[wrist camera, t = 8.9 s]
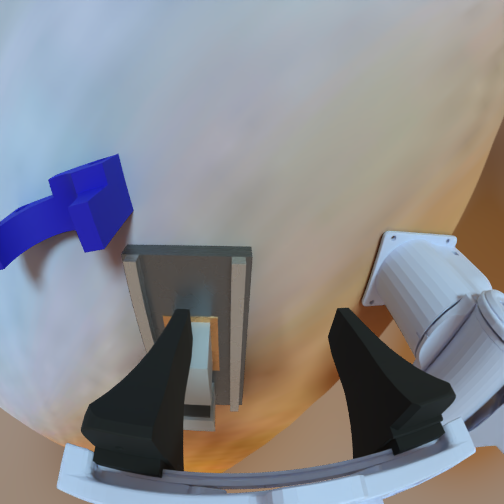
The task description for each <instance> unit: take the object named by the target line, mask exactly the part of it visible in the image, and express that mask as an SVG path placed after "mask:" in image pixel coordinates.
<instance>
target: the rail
mask: <svg viewBox="0 0 504 504" xmlns="http://www.w3.org/2000/svg"><path fill="white" fill-rule="evenodd" d="M121 256H122V261H123V266H124V270H125V275H126V279H127V284H128V288H129V292H130V296H131V300H132V304H133V308H134V312H135V315H136V319H137V323H138V326H139V329H140V333H141V336H142V340H143V343H144V346H145V349H146V352H147V353H148V352H149V350H150V349H151V348H152V346H153V345H154V344H155V342H156V341H157V339H158V338H159V336H160V335H161V333H162V332H163V330H164V329H165V327H166V325H167V324H168V322H169V320H170V319H171V317H172V315H173V313H174V311H175V310H176V309H190V317H191V322H205V323H210V330H211V347H212V362H213V367H212V383H214V384H215V405H230V411H238V407H239V405H242V397H243V383H244V369H245V355H246V341H247V327H248V312H249V298H250V284H251V270H252V250H251V247H233V246H179V245H127V246H126V247H125V249H124V251H123V252H122V254H121Z"/></svg>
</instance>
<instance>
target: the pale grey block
mask: <svg viewBox="0 0 504 504" xmlns="http://www.w3.org/2000/svg"><path fill="white" fill-rule="evenodd" d="M191 326H192V334H193V346H192V358H191V364H190V370H189V376H188V381H187V387H186V393H185V401H184V404H190V405H211V399H212V367H213V362H212V347H211V330H210V323H205V322H191Z"/></svg>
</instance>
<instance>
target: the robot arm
mask: <svg viewBox="0 0 504 504" xmlns="http://www.w3.org/2000/svg"><path fill="white" fill-rule="evenodd" d="M392 236H394V238H392ZM391 238H392V239H391ZM446 240H447V241H446ZM456 242H457V238H456V237H455V236H451V235H439V234H426V233H413V232H398V231H386V232H385V233H384V234H383V236H382V240H381V243H380V247H379V250H378V254H377V257H376V260H375V263H374V266H373V270H372V273H371V276H370V279H369V282H368V285H367V287H366V290H365V293H364V296H363V299H362V304H363V305H364V306H376V305H386V307H387V309H388V310H389V312H390V314H391V315H392V317H393V319H394V320H395V322H396V324H397V325H398V327H399V329H400V331H401V332H402V334H403V336H404V337H405V339H406V341H407V343H408V345H409V347H410V349H411V350H412V352H413V354H414V356H415V358H416V360H415V361H414V363H413V364H411V363H409V362H408V361H406V360H405V359H403V358H402V357H401V356H399V355H398V354H396V353H395V352H394V351H393V350H392V349H390V348H389V347H388V346H387V345H386V344H385V343H383V342H382V341H381V340H380V339H379V338H378V337H377V336H376V335H375V334H374V333H373V332H372V331H371V330H370V329H369V328H368V327H367V326H366V325H365V324H364V323H363V322H362V321H361V320H360V319H359V318H358V317H357V316H356V315H355V314H354V313H353V312H352V311H351V310H350V309H349V308H337V311H336V314H335V317H334V320H333V323H332V326H331V329H330V332H329V335H328V339H329V344H330V349H331V354H332V357H333V360H334V362H335V365H336V368H337V371H338V374H339V377H340V380H341V383H342V386H343V389H344V392H345V396H346V401H347V406H348V412H349V418H350V424H351V433H352V443H353V459H352V460H347V461H343V462H338V463H333V464H328V465H322V466H316V467H310V468H303V469H296V470H286V471H277V472H262V473H232V474H231V473H230V474H229V473H198V472H185V471H184V464H183V421H184V401H185V393H186V387H187V381H188V376H189V370H190V364H191V358H192V346H193V334H192V326H191V317H190V309H176V310H175V311H174V313H173V315H172V317H171V319H170V320H169V322H168V324H167V325H166V327H165V329H164V330H163V332H162V333H161V335H160V336H159V338H158V339H157V341H156V342H155V344H154V345H153V346H152V348H151V349H150V350H149V352H148V353H147V354H146V355H145V357H144V358H143V359H142V360H141V361H140V363H139V364H138V365H137V366H136V367H135V368H134V369H133V370H132V371H131V372H130V373H129V374H128V375H127V376H126V377H125V378H124V379H123V380H122V381H121V382H119V383H118V384H117V385H116V386H114V387H113V388H112V389H111V390H110V391H108V392H107V393H106V394H104V395H103V396H101V397H100V398H98V399H97V400H95V401H94V402H92V403H91V404H89V406H88V409H87V411H86V413H85V416H84V420H83V423H82V427H81V432H82V434H83V435H84V436H85V437H86V438H87V439H88V440H89V441H90V442H91V443H92V444H93V445H94V446H95V451H94V452H93V451H91V450H88V449H86V448H82V447H79V446H76V445H72V444H69V443H66V446H65V450H64V454H63V459H62V463H61V467H60V473H59V477H58V482H57V488H58V489H59V490H62V491H64V492H66V493H68V494H70V495H72V496H75V497H77V498H80V499H82V500H85V501H88V502H91V503H94V504H384V503H383V499H384V498H387V497H389V496H392V495H394V494H397V493H400V492H402V491H405V490H407V489H409V488H412V487H414V486H416V485H418V484H420V483H423V482H425V481H427V480H429V479H431V478H433V477H435V476H437V475H439V474H440V473H443V472H445V471H446V470H448V469H450V468H452V467H453V466H455V465H456V464H458V463H460V462H461V461H463V460H464V459H466V458H467V457H469V456H470V455H472V454H473V453H475V452H476V449H475V447H482V446H492V445H495V446H497V447H498V448H499V449H500V450H501V452H502V453H503V454H504V294H503V293H501V292H499V291H497V290H492V287H491V285H490V282H489V281H488V279H487V278H486V277H485V276H484V275H483V274H482V273H481V272H480V271H479V270H478V269H477V268H476V267H475V266H474V265H473V264H472V263H471V262H470V261H469V260H468V259H467V258H466V257H465V256H464V255H463V254H462V253H461V252H460V251H459V250H457V249H456V248H455V245H456ZM370 301H371V302H370ZM347 475H349V476H347ZM343 476H345V477H343ZM338 477H341V478H338ZM334 478H336V479H334ZM329 479H331V480H329ZM324 480H326V481H324ZM318 481H321V482H318ZM312 482H315V483H312ZM306 483H309V484H306ZM298 484H303V485H298ZM291 485H295V486H291ZM282 486H289V487H283V488H278V489H273V490H266V491H258V492H246V493H229V494H227V492H226V491H225V490H222V489H256V488H271V487H282Z"/></svg>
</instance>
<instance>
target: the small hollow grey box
mask: <svg viewBox="0 0 504 504" xmlns="http://www.w3.org/2000/svg"><path fill="white" fill-rule="evenodd" d="M183 429H184V430H194V431H215V384H214V383H212V399H211V405H190V404H184V421H183Z"/></svg>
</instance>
